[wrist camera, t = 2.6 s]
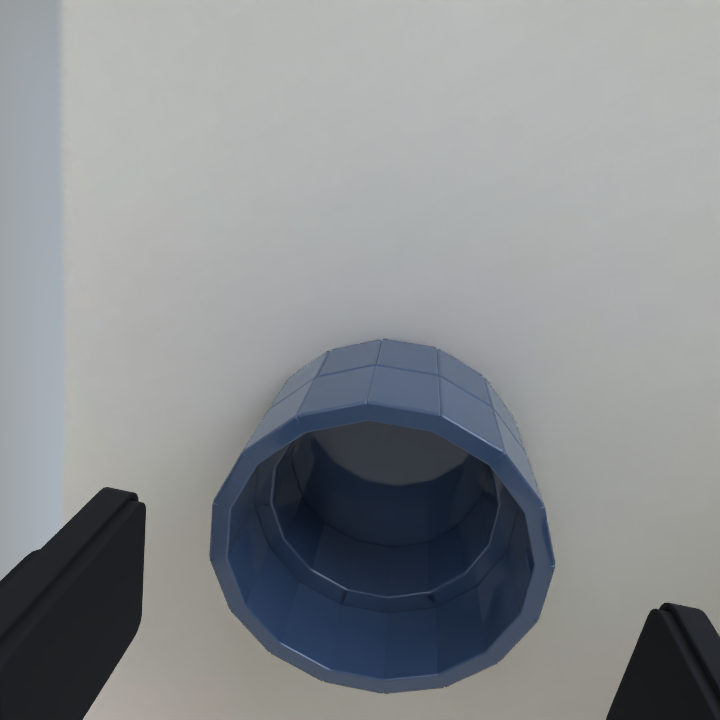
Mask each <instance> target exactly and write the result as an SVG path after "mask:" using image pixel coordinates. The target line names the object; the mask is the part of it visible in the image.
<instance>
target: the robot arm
mask: <svg viewBox="0 0 720 720" xmlns="http://www.w3.org/2000/svg"><path fill="white" fill-rule="evenodd" d="M145 520H146V506H145V504H144V503H142V502H138V496H137V494H136V493H133V492H128V491H123V490H119V489H114V488H109V487H106V488H103V489H102V490H100V491H99V492H98V493H97V494H96V495H95V496H94V497H93V498H92V499H91V500H90V501H89V502H88V503H87V504H86V505H85V506H84V507H83V508H82V509H81V510H80V511H79V512H78V513H77V514H76V515H75V516H74V517H73V518H72V519H71V520H70V521H69V522H68V523H67V524H66V525H65V526H64V527H63V528H62V529H61V530H60V531H59V532H58V533H57V534H56V535H55V536H54V537H53V538H52V539H51V540H49V541H48V542H47V543H46V544H45V546H43V547H42V548H41V549H39V550H36V551H33V552H31V553H30V554H29V555H27V556H26V557H25V558H24V559H23V560H22V561H21V562H20V563H19V564H18V565H17V566H16V567H14V569H12V570H11V571H10V572H9V573H8V574H7V575H6V576H5V577H4V578H3V579H2V580H1V581H0V720H83V718H84V716H85V715H86V713H87V712H88V710H89V709H90V707H91V705H92V704H93V702H94V701H95V699H96V697H97V696H98V694H99V693H100V691H101V689H102V688H103V686H104V685H105V683H106V681H107V680H108V678H109V677H110V675H111V674H112V672H113V670H114V669H115V667H116V666H117V664H118V662H119V661H120V659H121V658H122V656H123V654H124V653H125V651H126V650H127V648H128V646H129V645H130V643H131V642H132V640H133V638H134V637H135V635H136V633H137V631H138V628H139V625H140V622H141V616H142V596H143V571H144V546H145ZM606 720H720V637H719V635H718V634H717V632H716V630H715V629H714V627H713V625H712V624H711V622H710V621H709V619H708V617H707V616H706V615H705V613H704V612H703V611H701V610H700V609H696V608H691V607H687V606H682V605H677V604H672V603H664V604H663V605H661V607H660V608H659V609H653V610H651V611H650V613H649V615H648V617H647V620H646V622H645V624H644V627H643V629H642V632H641V634H640V637H639V639H638V642H637V644H636V646H635V649H634V651H633V654H632V656H631V659H630V661H629V664H628V666H627V668H626V671H625V673H624V676H623V678H622V681H621V683H620V686H619V688H618V690H617V693H616V695H615V698H614V700H613V703H612V705H611V707H610V710H609V712H608V715H607V718H606Z"/></svg>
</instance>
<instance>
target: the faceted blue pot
mask: <svg viewBox="0 0 720 720" xmlns="http://www.w3.org/2000/svg"><path fill="white" fill-rule="evenodd" d="M209 556H210V561H211V563H212V566H213V568H214V571H215V574H216V576H217V579H218V581H219V584H220V586H221V589H222V591H223V594H224V596H225V599H226V601H227V604H228V607H229V609H231V612H232V613H233V614H234V615H235V616H236V617H237V618H238V619H239V620H240V622H241V623H242V624H243V625H244V626H245V627H246V628H247V629H248V630H249V631H250V632H251V633H252V634H253V635H254V637H255V638H256V639H257V640H258V641H259V642H260V643H261V644H262V645H263V646H264V647H265V648H266V649H267V650H268V652H271V654H273V655H275V656H276V657H278V658H280V659H282V660H284V661H286V662H287V663H289V664H291V665H293V666H295V667H297V668H299V669H300V670H302V671H304V672H306V673H308V674H310V675H312V676H313V677H315V678H317V679H319V680H321V681H323V680H324V682H327V683H332V684H337V685H342V686H347V687H352V688H357V689H362V690H367V691H372V692H377V693H383V692H384V693H385V694H388V693H397V692H407V691H417V690H427V689H436V688H443V687H444V686H445V687H447V686H449V685H452V684H454V683H456V682H458V681H460V680H462V679H465V678H467V677H469V676H471V675H473V674H475V673H478V672H480V671H482V670H484V669H486V668H489V667H491V666H493V665H495V664H497V663H498V662H500V661H501V660H502V659H503V658H504V657H505V656H506V655H507V654H508V652H509V651H510V650H511V649H512V648H513V647H514V646H515V645H516V644H517V643H518V642H519V641H520V640H521V639H522V638H523V636H524V635H525V634H526V633H527V632H528V631H529V630H530V629H531V628H532V627H533V626H534V625H535V624H536V623H537V620H538V619H539V617H540V614H541V611H542V607H543V604H544V601H545V598H546V594H547V591H548V588H549V585H550V582H551V578H552V575H553V572H554V569H555V559H554V553H553V548H552V542H551V537H550V531H549V526H548V520H547V515H546V510H545V506H544V503H543V500H542V497H541V494H540V491H539V488H538V485H537V483H536V480H535V477H534V474H533V471H532V468H531V465H530V462H529V459H528V457H527V454H526V451H525V449H524V446H523V443H522V440H521V437H520V434H519V431H518V428H517V425H516V422H515V421H514V418H513V415H512V414H511V413H510V411H509V410H508V408H507V407H506V406H505V404H504V403H503V401H502V400H501V399H500V397H499V396H498V395H497V393H496V392H495V390H494V389H493V388H492V386H491V385H490V383H489V382H488V381H487V379H485V378H483V376H482V375H481V374H480V373H478V372H477V371H475V370H473V369H472V368H470V367H468V366H467V365H465V364H463V363H462V362H460V361H458V360H457V359H455V358H453V357H452V356H450V355H448V354H447V353H445V352H444V351H442V350H440V349H436V348H435V347H431V346H425V345H419V344H413V343H407V342H401V341H395V340H389V339H383V340H374V341H370V342H365V343H360V344H356V345H351V346H346V347H342V348H337V349H333V350H331V351H327V352H326V353H324V354H323V355H321V356H320V357H318V358H317V359H316V360H314V361H313V362H311V363H310V364H308V365H307V366H306V367H304V368H303V369H301V370H300V371H298V372H297V373H296V374H294V375H293V376H291V377H290V378H289V380H287V381H286V383H285V385H284V386H283V388H282V389H281V391H280V392H279V394H278V396H277V397H276V399H275V400H274V402H273V404H272V405H271V407H270V408H269V410H268V412H267V413H266V415H265V416H264V418H263V419H262V421H261V423H260V424H259V426H258V427H257V429H256V430H255V432H254V434H253V435H252V437H251V438H250V440H249V441H248V443H247V445H246V446H245V448H244V449H243V451H242V453H241V454H240V456H239V458H238V459H237V461H236V463H235V464H234V466H233V468H232V470H231V471H230V473H229V475H228V476H227V478H226V480H225V482H224V483H223V485H222V487H221V488H220V490H219V492H218V493H217V495H216V497H215V499H214V502H213V505H212V522H211V538H210V554H209Z"/></svg>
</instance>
